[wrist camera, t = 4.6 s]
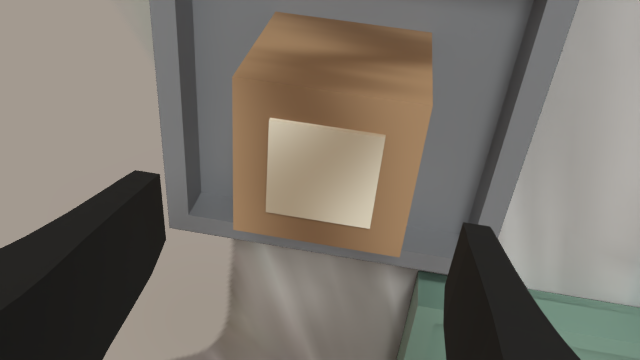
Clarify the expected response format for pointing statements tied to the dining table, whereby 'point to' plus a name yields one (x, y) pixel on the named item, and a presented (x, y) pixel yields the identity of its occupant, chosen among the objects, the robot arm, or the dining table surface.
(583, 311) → the green tray
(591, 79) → the dining table surface
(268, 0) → the charcoal tray
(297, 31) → the brown cardboard box
